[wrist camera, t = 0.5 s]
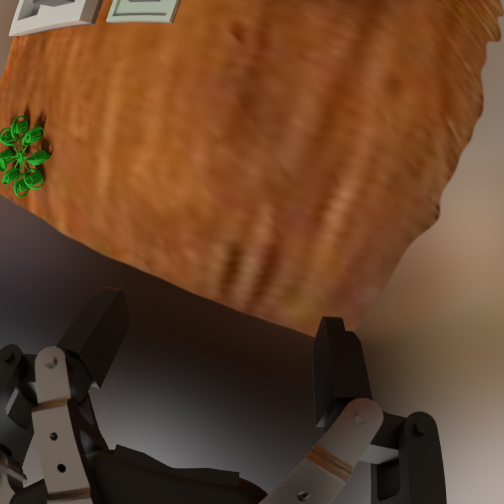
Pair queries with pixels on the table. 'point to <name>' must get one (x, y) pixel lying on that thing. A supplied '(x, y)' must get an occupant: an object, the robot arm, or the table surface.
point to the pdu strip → (52, 15)
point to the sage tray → (143, 11)
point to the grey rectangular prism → (144, 0)
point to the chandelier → (22, 156)
